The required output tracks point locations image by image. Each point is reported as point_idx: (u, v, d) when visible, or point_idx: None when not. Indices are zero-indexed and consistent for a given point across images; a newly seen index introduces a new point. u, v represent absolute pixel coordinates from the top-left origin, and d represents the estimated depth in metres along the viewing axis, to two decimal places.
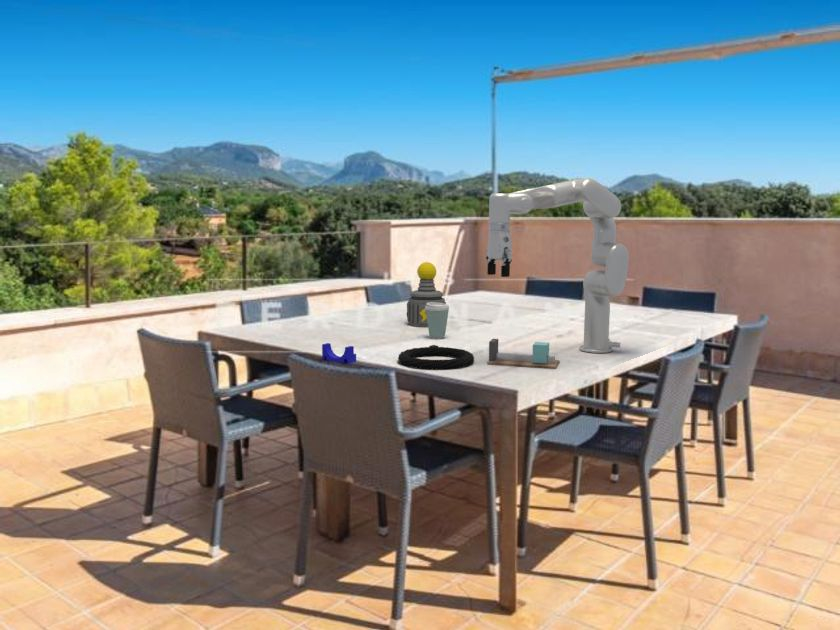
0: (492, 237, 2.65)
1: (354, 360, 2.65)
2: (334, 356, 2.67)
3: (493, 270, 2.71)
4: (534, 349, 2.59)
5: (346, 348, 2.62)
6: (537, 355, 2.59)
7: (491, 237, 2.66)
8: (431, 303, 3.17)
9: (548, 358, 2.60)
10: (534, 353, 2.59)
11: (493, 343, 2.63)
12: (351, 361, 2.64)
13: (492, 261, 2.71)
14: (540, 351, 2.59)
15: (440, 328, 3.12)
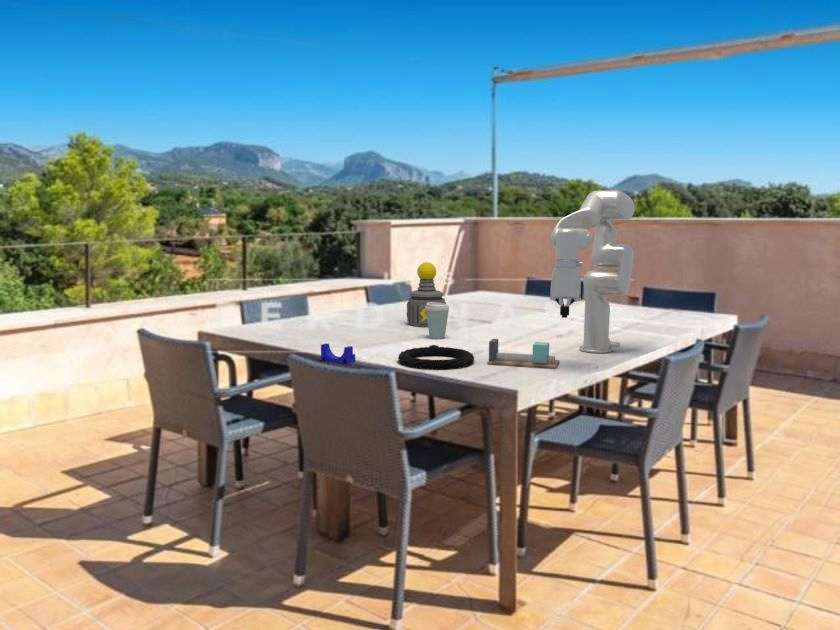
0: (564, 275, 2.53)
1: (353, 360, 2.64)
2: (333, 356, 2.66)
3: None
4: (534, 349, 2.59)
5: (345, 348, 2.61)
6: (537, 355, 2.59)
7: (561, 274, 2.53)
8: (431, 303, 3.17)
9: (548, 358, 2.60)
10: (534, 353, 2.59)
11: (493, 343, 2.63)
12: (350, 361, 2.63)
13: (563, 303, 2.57)
14: (540, 351, 2.59)
15: (440, 328, 3.12)
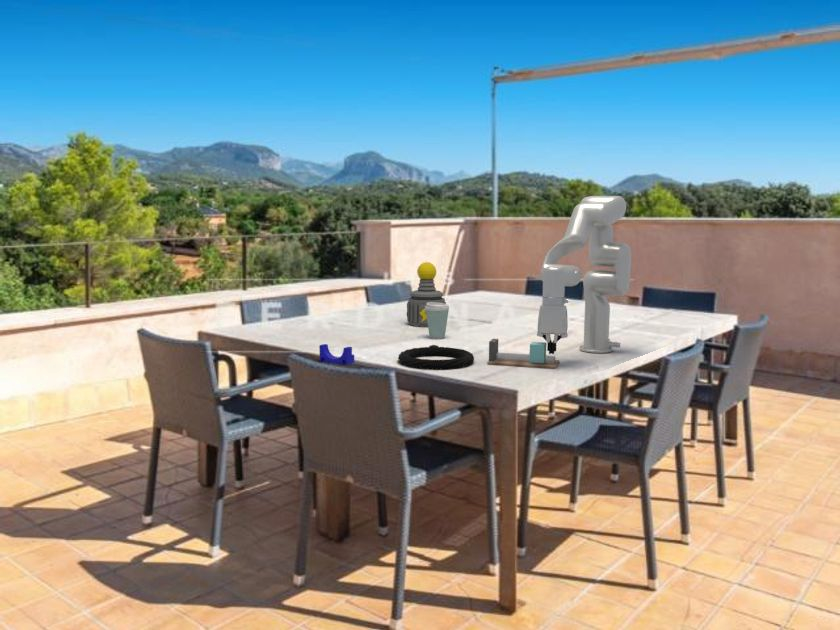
0: (551, 312, 2.56)
1: (352, 361, 2.64)
2: (332, 357, 2.65)
3: None
4: (531, 349, 2.59)
5: (345, 349, 2.60)
6: (534, 355, 2.59)
7: (548, 312, 2.56)
8: (431, 303, 3.17)
9: (548, 358, 2.60)
10: (531, 353, 2.60)
11: (493, 343, 2.63)
12: (349, 361, 2.62)
13: (550, 339, 2.60)
14: (537, 351, 2.59)
15: (440, 328, 3.12)
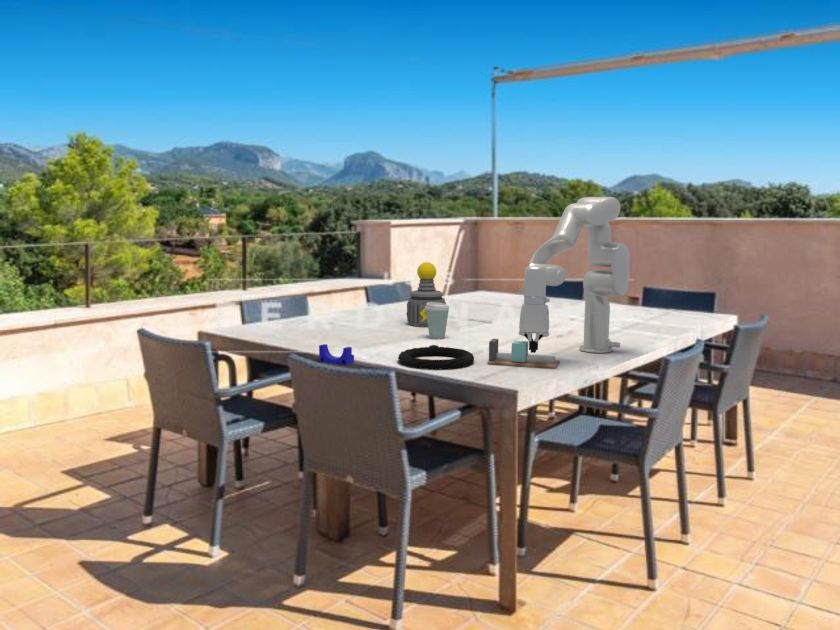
0: (533, 311, 2.58)
1: (352, 361, 2.63)
2: (331, 357, 2.65)
3: None
4: (513, 348, 2.61)
5: (344, 349, 2.60)
6: (516, 354, 2.61)
7: (530, 311, 2.58)
8: (431, 303, 3.17)
9: (548, 358, 2.60)
10: (513, 352, 2.62)
11: (493, 343, 2.63)
12: (349, 362, 2.62)
13: (532, 338, 2.62)
14: (519, 350, 2.61)
15: (440, 328, 3.12)
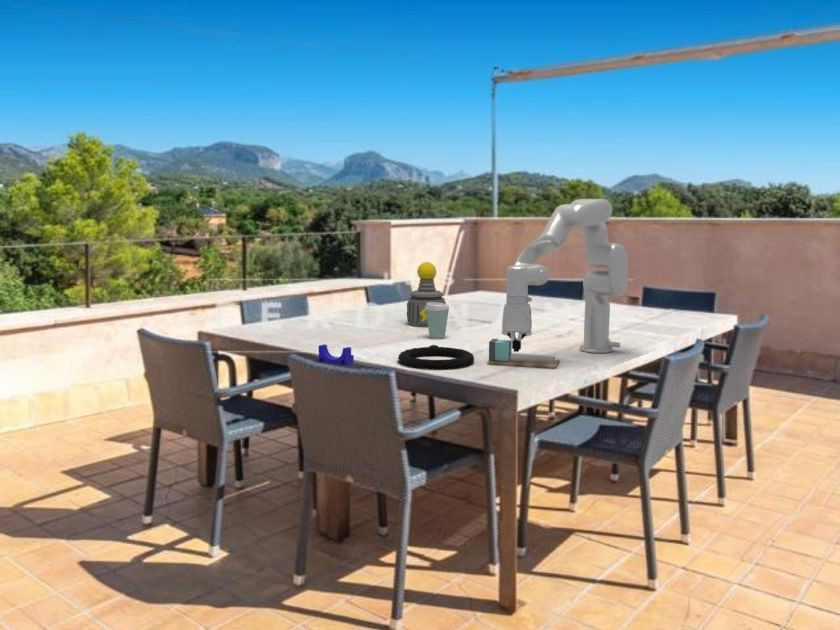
0: (515, 311, 2.60)
1: (351, 361, 2.63)
2: (331, 357, 2.64)
3: None
4: (496, 347, 2.63)
5: (344, 349, 2.60)
6: (499, 353, 2.63)
7: (512, 310, 2.60)
8: (431, 303, 3.17)
9: (548, 358, 2.60)
10: (496, 351, 2.63)
11: (493, 343, 2.63)
12: (349, 362, 2.61)
13: (515, 337, 2.64)
14: (502, 349, 2.63)
15: (440, 328, 3.12)
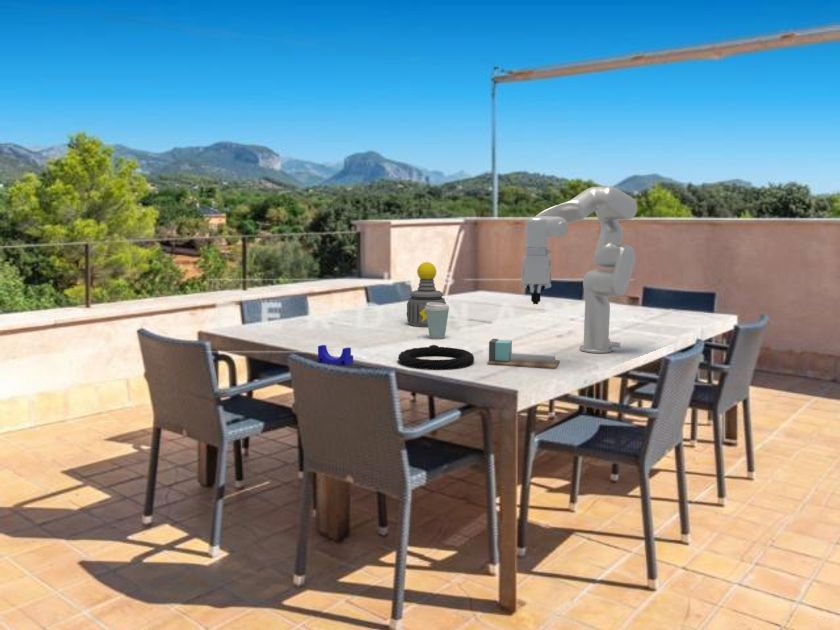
0: (534, 262, 2.60)
1: (351, 362, 2.62)
2: (330, 358, 2.64)
3: None
4: (496, 347, 2.63)
5: (344, 350, 2.59)
6: (500, 353, 2.63)
7: (532, 262, 2.60)
8: (431, 303, 3.17)
9: (548, 358, 2.60)
10: (496, 351, 2.63)
11: (493, 343, 2.63)
12: (348, 362, 2.61)
13: (534, 290, 2.64)
14: (502, 349, 2.63)
15: (440, 328, 3.12)
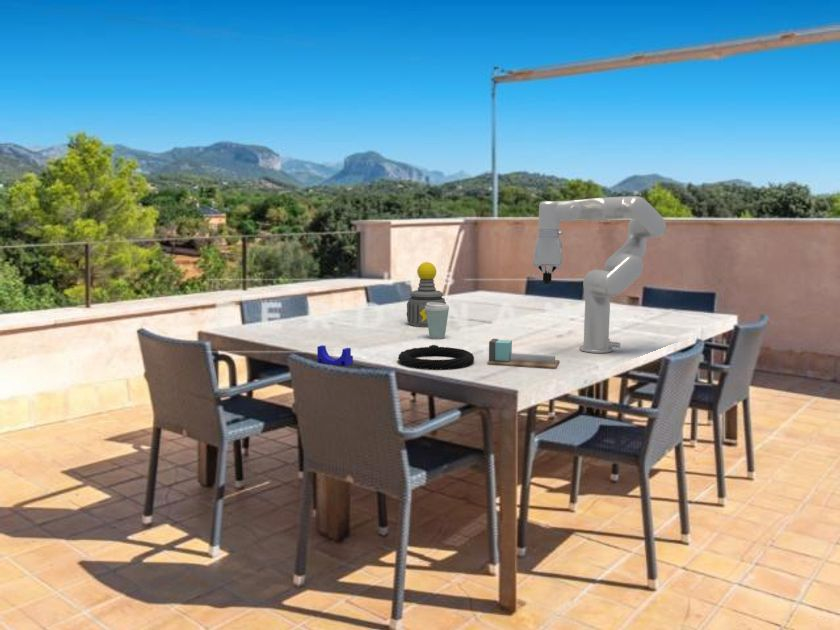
0: (546, 244, 2.73)
1: (351, 362, 2.61)
2: (330, 358, 2.63)
3: None
4: (496, 347, 2.63)
5: (344, 350, 2.58)
6: (500, 353, 2.63)
7: (544, 243, 2.74)
8: (431, 303, 3.17)
9: (548, 358, 2.60)
10: (496, 351, 2.63)
11: (493, 343, 2.63)
12: (348, 363, 2.60)
13: None
14: (502, 349, 2.63)
15: (440, 328, 3.12)
